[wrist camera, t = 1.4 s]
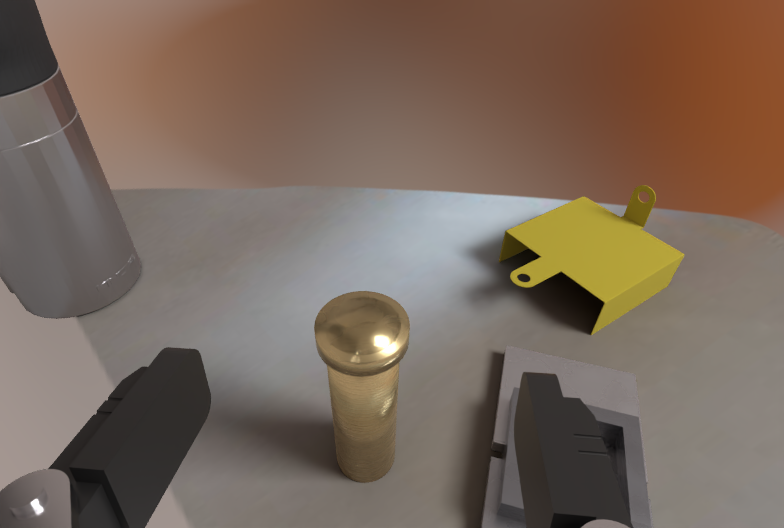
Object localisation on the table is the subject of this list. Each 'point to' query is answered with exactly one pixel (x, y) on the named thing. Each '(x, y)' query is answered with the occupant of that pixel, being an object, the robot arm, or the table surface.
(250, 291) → the table surface
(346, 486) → the table surface
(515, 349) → the grey socket base plate
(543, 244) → the bracket
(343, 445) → the hinge pin
